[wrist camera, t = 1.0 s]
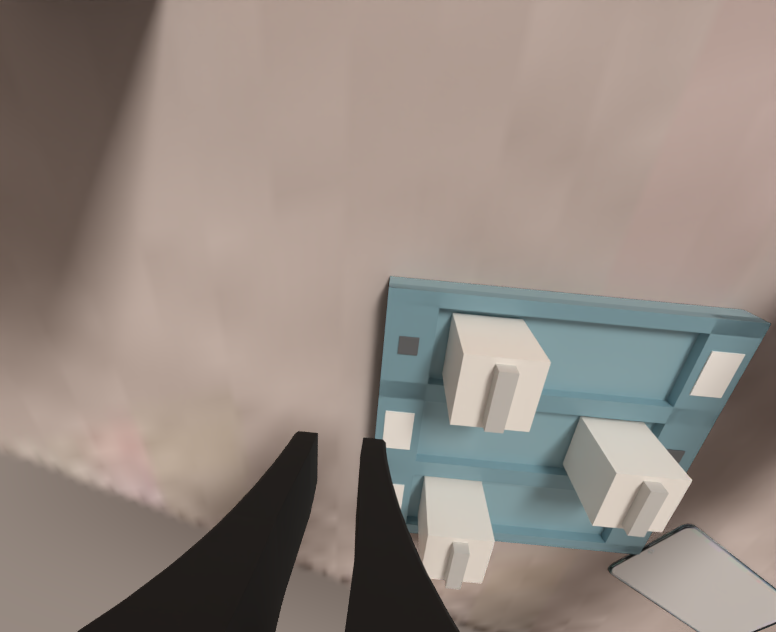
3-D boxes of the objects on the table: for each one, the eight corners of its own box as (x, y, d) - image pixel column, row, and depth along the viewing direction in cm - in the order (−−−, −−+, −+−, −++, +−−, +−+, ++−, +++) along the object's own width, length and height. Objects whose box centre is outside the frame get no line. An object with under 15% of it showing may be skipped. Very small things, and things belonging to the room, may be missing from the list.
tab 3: (643, 422, 21) (701, 491, 17) (621, 469, 23) (669, 543, 19) (580, 416, 21) (623, 484, 17) (562, 463, 23) (597, 536, 19)
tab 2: (523, 319, 19) (556, 370, 15) (507, 380, 20) (533, 441, 16) (452, 312, 19) (465, 362, 15) (442, 373, 20) (451, 434, 16)
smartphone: (720, 647, 32) (605, 570, 28) (715, 639, 32) (601, 563, 29) (806, 612, 29) (691, 523, 26) (799, 604, 30) (686, 516, 26)
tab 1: (481, 479, 24) (497, 552, 19) (470, 519, 25) (483, 595, 21) (424, 474, 24) (428, 546, 19) (417, 514, 25) (420, 588, 21)
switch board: (743, 309, 19) (772, 324, 18) (626, 532, 27) (639, 555, 25) (390, 276, 19) (388, 287, 18) (368, 507, 27) (366, 529, 25)
